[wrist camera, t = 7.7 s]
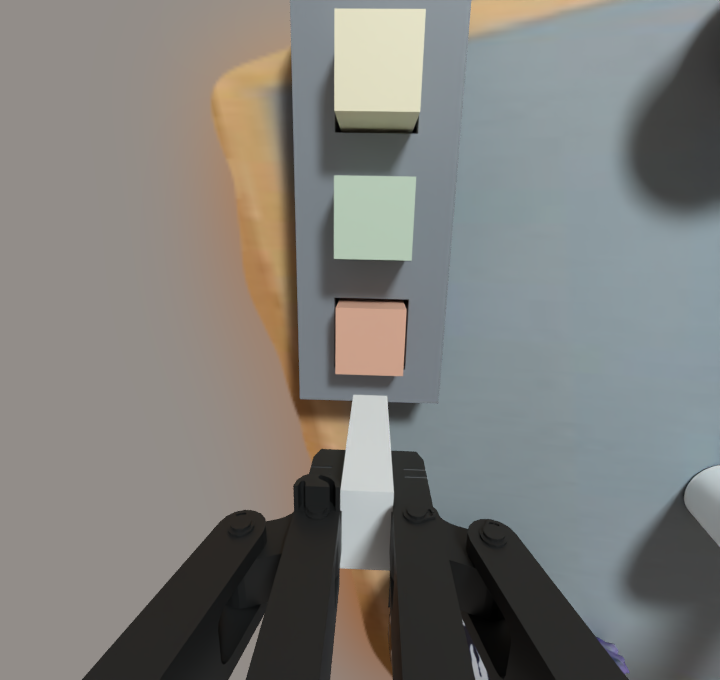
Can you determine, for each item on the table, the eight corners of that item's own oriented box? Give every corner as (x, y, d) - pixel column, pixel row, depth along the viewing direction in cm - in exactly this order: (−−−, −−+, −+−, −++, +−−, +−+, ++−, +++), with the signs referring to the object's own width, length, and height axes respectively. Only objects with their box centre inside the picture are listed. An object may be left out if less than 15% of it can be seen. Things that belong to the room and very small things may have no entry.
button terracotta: (342, 293, 35) (335, 307, 29) (400, 295, 35) (406, 309, 29) (342, 349, 37) (335, 374, 30) (398, 351, 37) (403, 376, 30)
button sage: (342, 186, 31) (333, 175, 25) (407, 187, 31) (416, 176, 25) (341, 253, 33) (333, 258, 26) (404, 254, 33) (411, 260, 26)
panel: (302, 20, 30) (289, -20, 26) (457, 20, 30) (472, -19, 25) (309, 377, 39) (299, 398, 34) (430, 381, 38) (438, 403, 33)
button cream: (343, 56, 29) (334, 8, 23) (414, 57, 29) (425, 8, 22) (342, 135, 30) (334, 110, 24) (410, 136, 30) (420, 111, 24)
